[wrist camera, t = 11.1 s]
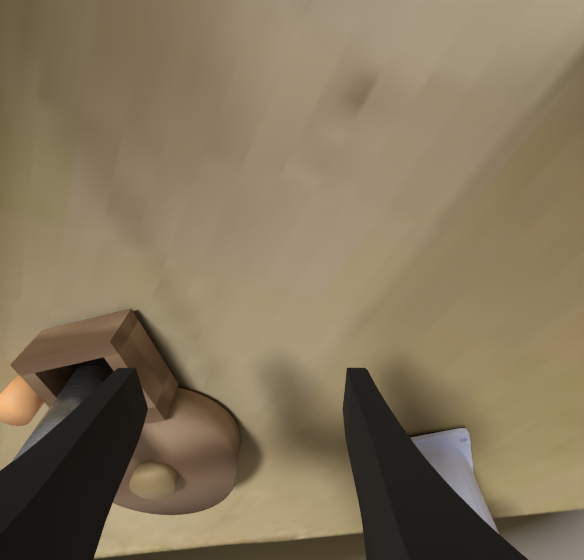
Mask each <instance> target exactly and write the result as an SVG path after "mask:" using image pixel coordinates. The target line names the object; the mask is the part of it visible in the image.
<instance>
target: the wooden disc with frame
mask: <svg viewBox="0 0 584 560" xmlns="http://www.w3.org/2000/svg"><path fill="white" fill-rule="evenodd" d="M103 357H104V358H105V360H106V361H107V362H108V364H109V365H110V367H111V368H112V369H113V371H115V370H116V369H117V368H136V370H137V373H138V377H139V380H140V383H141V386H142V390H143V393H144V396H145V400H146V403H147V406H148V411H147V415H146V419H145V422H144V426H143V429H142V432H141V436H140V439H139V441H138V444H137V446H136V449H135V451H134V453H133V456H132V458H131V461H130V463H129V465H128V468H127V470H126V472H125V475H124V477H123V479H122V482H121V484H120V487H119V489H118V491H117V494H116V496H115V498H114V501H113V503H115V504H117V505H120V506H122V507H125V508H128V509H132V510H135V511H140V512H145V513H151V514H160V515H181V514H189V513H195V512H199V511H202V510H206V509H208V508H211V507H213V506H215V505H217V504H219V503H220V502H221V501H223V500H224V499H225V498H226V497H227V496H228V495H229V494H230V492H231V491H232V489H233V487H234V484H235V478H236V471H237V464H238V456H239V449H240V442H241V439H240V432H239V428H238V426H237V424H236V422H235V421H234V419H233V418H232V416H231V415H230V414H229V413H228V412H227V411H226V410H225V409H224V408H222V407H221V406H220V405H219V404H217V403H216V402H214V401H212V400H211V399H209V398H207V397H205V396H203V395H200V394H198V393H196V392H192V391H189V390H186V389H182V388H177V386H178V383H177V381H176V379H175V378H174V376H173V375H172V373H171V371H170V370H169V368H168V367H167V365H166V363H165V362H164V360H163V359H162V357H161V355H160V354H159V352H158V351H157V349H156V347H155V346H154V344H153V343H152V341H151V339H150V338H149V336H148V335H147V333H146V331H145V330H144V328H143V327H142V325H141V323H140V322H139V320H138V319H137V317H136V315H135V314H134V312H133V311H132V309H128V310H124V311H120V312H115V313H111V314H107V315H103V316H99V317H95V318H91V319H87V320H83V321H79V322H75V323H71V324H67V325H63V326H59V327H54V328H50V329H46V330H42V331H41V332H40V333H39V334H38V335H37V336H36V338H35V339H34V340H33V341H32V342H31V343H30V344H29V345H28V346H27V347H26V348H25V349H24V351H23V352H22V353H21V354H20V355H19V356H18V357H17V358H16V359H15V360H14V361H13V362H12V363H11V366H12V368H13V369H14V370H15V371H16V372H17V373H18V374H19V375H20V376H21V377H22V378H23V379H24V381H25V382H26V383H27V384H28V385H29V386H30V387H31V388H32V389H33V390H34V391H35V392H36V394H37V395H38V396H39V397H40V398H41V399H42V400H43V401H44V402H45V403H46V404H47V405H48V406H49V408H50V407H51V405H52V404H53V402H54V401H55V399H56V398H57V397H58V395H59V394H60V392H61V391H62V389H63V388H64V386H65V385H66V384H67V382H68V381H69V379H70V378H71V376H72V375H73V374H74V372H75V371H76V369H77V368H78V366H79V365H80V364H81V362H85V361H90V360H94V359H98V358H103Z"/></svg>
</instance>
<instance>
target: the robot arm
mask: <svg viewBox="0 0 584 560" xmlns="http://www.w3.org/2000/svg"><path fill="white" fill-rule="evenodd" d="M147 411H148V406H147V403H146V400H145V396H144V393H143V390H142V386H141V383H140V380H139V377H138V373H137V370H136V368H117V369H116V370H115V371H114V372H113V373H112V374H111V375H110V376H109V377H108V378H107V379H106V380H105V381H104V382H103V383H101V384H100V385H99V386H98V387H97V388H96V389H95V390H94V391H93V392H92V393H91V394H90V395H89V396H88V397H87V398H86V399H85V400H84V401H83V402H82V403H81V404H79V405H78V406H77V407H76V408H75V409H74V410H73V411H72V412H71V413H70V414H69V415H68V416H66V417H65V418H64V419H63V420H62V421H61V422H60V423H59V424H57V425H56V426H55V427H54V428H53V429H52V430H51V431H49V432H48V433H47V434H46V435H45V436H44V437H42V438H41V439H40V440H39V441H38V442H37V443H35V444H34V445H33V446H32V447H31V448H29V449H28V450H27V451H26V452H24V453H23V454H22V455H21V456H19V457H18V458H17V459H15V460H14V461H13V462H11V463H10V464H9V465H7V466H6V467H5V468H3V469H2V470H1V471H0V560H93V559H94V555H95V552H96V549H97V546H98V543H99V540H100V537H101V534H102V530H103V527H104V524H105V521H106V518H107V516H108V513H109V511H110V508H111V505H112V503H113V501H114V498H115V496H116V494H117V491H118V489H119V487H120V484H121V482H122V479H123V477H124V475H125V472H126V470H127V468H128V465H129V463H130V461H131V458H132V456H133V453H134V451H135V449H136V446H137V444H138V441H139V439H140V436H141V432H142V429H143V426H144V422H145V419H146V415H147ZM343 416H344V426H345V436H346V442H347V447H348V452H349V457H350V462H351V467H352V472H353V476H354V481H355V486H356V491H357V496H358V501H359V506H360V511H361V517H362V524H363V533H364V541H365V549H366V558H367V560H528V559H527V558H526V557H525V556H523V555H522V554H521V553H520V552H519V551H517V550H516V549H515V548H514V547H513V546H511V544H509V543H508V542H507V541H506V540H505V539H504V538H503V537H502V536H500V535H499V532H498V530H497V528H496V525H495V523H494V521H493V518H492V516H491V514H490V512H489V509H488V507H487V505H486V502H485V500H484V498H483V495H482V493H481V491H480V489H479V486H478V484H477V482H476V479H475V477H474V472H473V462H472V453H471V443H470V434H469V432H468V430H467V429H466V428H458V429H453V430H447V431H442V432H437V433H431V434H426V435H421V436H416V437H409V436H408V434H407V433H406V432H405V430H404V429H403V428H402V426H401V425H400V423H399V422H398V420H397V419H396V417H395V416H394V414H393V413H392V411H391V410H390V408H389V407H388V405H387V404H386V402H385V400H384V399H383V397H382V395H381V394H380V392H379V390H378V389H377V387H376V385H375V383H374V381H373V380H372V378H371V376H370V374H369V372H368V370H367V369H366V368H347V373H346V383H345V393H344V402H343Z"/></svg>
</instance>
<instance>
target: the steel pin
mask: <svg viewBox="0 0 584 560" xmlns="http://www.w3.org/2000/svg"><path fill="white" fill-rule="evenodd" d="M113 372H114V371H113V369H112V368H111V367H110V365H109V364H108V362H107V361H106V360H105V358H104V357H103V358H98V359H94V360H90V361H85V362H81V364H80V365H79V366H78V368H77V369H76V371H75V372H74V374H73V375H72V376H71V378H70V379H69V381H68V382H67V384H66V385H65V386H64V388H63V389H62V391H61V392H60V394H59V395H58V397H57V398H56V399H55V401H54V402H53V404H52V405H51V407H50V408H49V409H48V411H47V412H46V414H45V415H44V417H43V418H42V419H41V421H40V422H39V424H38V425H37V427H36V428H35V430H34V431H33V432H32V434H31V435H30V437H29V438H28V440H27V441H26V442H25V444H24V445H23V447H22V448H21V450H20V451H19V453H18V454H17V455H16V457H15V458H14V460H15V459H17V458H18V457H19V456H21V455H22V454H23V453H24V452H26V451H27V450H28V449H29V448H31V447H32V446H33V445H34V444H35V443H37V442H38V441H39V440H40V439H41V438H42V437H44V436H45V435H46V434H47V433H48V432H49V431H51V430H52V429H53V428H54V427H55V426H56V425H57V424H59V423H60V422H61V421H62V420H63V419H64V418H65V417H66V416H68V415H69V414H70V413H71V412H72V411H73V410H74V409H75V408H76V407H77V406H78V405H79V404H81V403H82V402H83V401H84V400H85V399H86V398H87V397H88V396H89V395H90V394H91V393H92V392H93V391H94V390H95V389H96V388H97V387H98V386H99V385H100V384H101V383H103V382H104V381H105V380H106V379H107V378H108V377H109V376H110V375H111V374H112V373H113ZM14 460H13V461H14ZM13 461H12V462H13Z"/></svg>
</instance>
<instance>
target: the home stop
mask: <svg viewBox="0 0 584 560" xmlns="http://www.w3.org/2000/svg"><path fill="white" fill-rule="evenodd" d="M43 403H44V401H43V400H42V399H41V398H40V397H39V396H38V395H37V394H36V392H35V391H34V390H33V389H32V388H31V387H30V386H29V385H28V384H27V383H26V382H25V381H24V379H23V378H22V377H21V376H20V375H19V374H18V375H17V376H16V377H15V378H14V379H13V381H12V382H11V383H10V384H9V385H8V386H7V387H6V389H5V390H4V391H3V392H2V393H1V394H0V421H2V422H4V423H7V424H10V425H16V426H22V425H26V424H28V423H29V422H30V421H31V420H32V418H33V417H34V416H35V414H36V413H37V412H38V410H39V409H40V407H41V406H42V405H43Z"/></svg>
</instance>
